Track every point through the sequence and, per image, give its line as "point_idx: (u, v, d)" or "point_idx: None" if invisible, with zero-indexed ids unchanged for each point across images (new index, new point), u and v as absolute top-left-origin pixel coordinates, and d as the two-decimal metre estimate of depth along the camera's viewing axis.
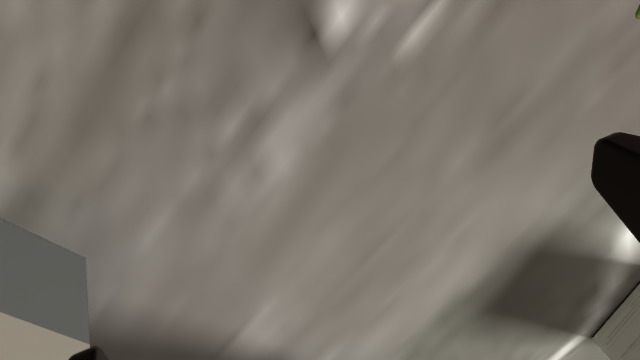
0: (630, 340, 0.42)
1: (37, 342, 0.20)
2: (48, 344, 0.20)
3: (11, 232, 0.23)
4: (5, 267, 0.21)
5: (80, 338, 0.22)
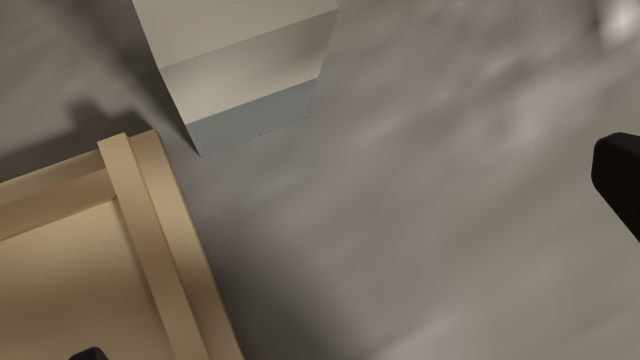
0: None
1: None
2: None
3: None
4: None
5: None
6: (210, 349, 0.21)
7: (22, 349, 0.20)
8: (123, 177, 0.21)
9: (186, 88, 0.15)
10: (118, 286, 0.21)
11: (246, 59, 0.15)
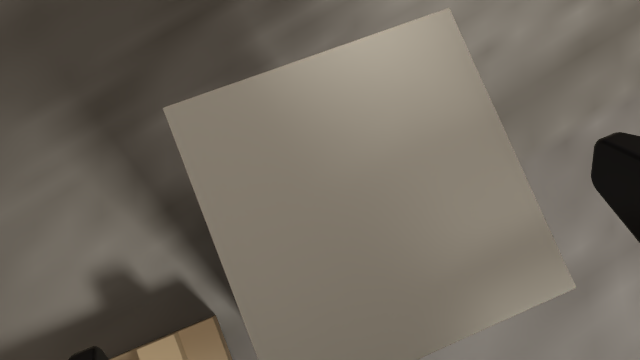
0: None
1: None
2: None
3: None
4: None
5: None
6: None
7: None
8: None
9: None
10: None
11: None
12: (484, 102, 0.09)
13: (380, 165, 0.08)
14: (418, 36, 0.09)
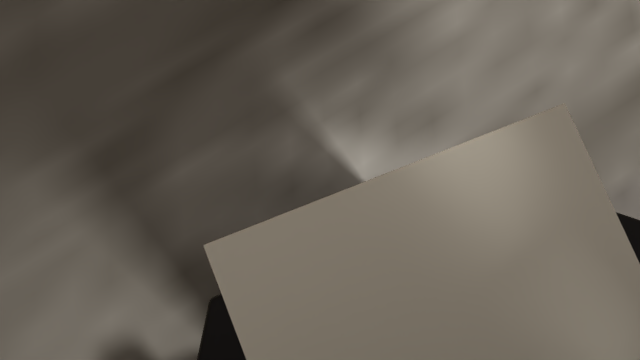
0: None
1: None
2: None
3: None
4: None
5: None
6: None
7: None
8: None
9: None
10: None
11: None
12: (613, 227, 0.07)
13: (485, 315, 0.06)
14: (526, 143, 0.07)
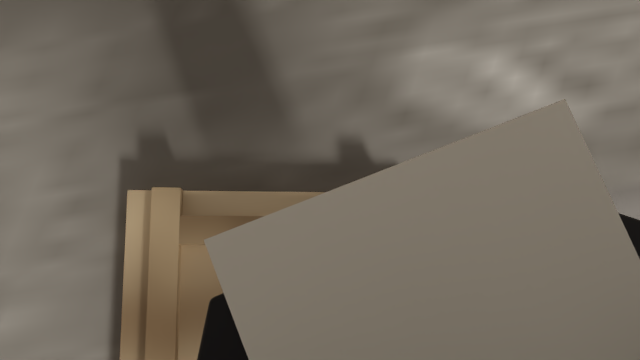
0: None
1: None
2: None
3: None
4: None
5: None
6: None
7: None
8: None
9: None
10: None
11: None
12: (613, 223, 0.07)
13: (484, 312, 0.06)
14: (527, 137, 0.07)
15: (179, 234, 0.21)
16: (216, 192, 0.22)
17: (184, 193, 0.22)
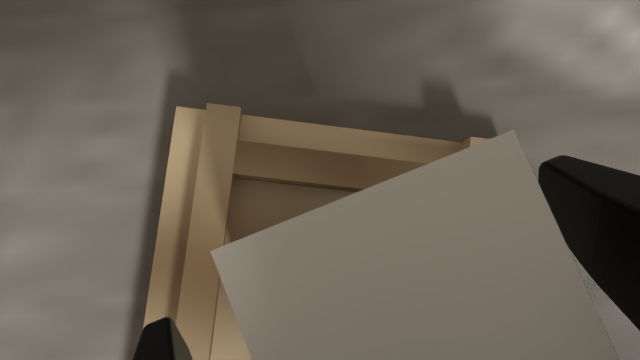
0: None
1: None
2: None
3: None
4: None
5: None
6: None
7: None
8: None
9: None
10: None
11: None
12: (553, 234, 0.08)
13: (444, 309, 0.08)
14: (482, 163, 0.08)
15: (234, 161, 0.17)
16: (280, 121, 0.18)
17: (242, 117, 0.18)
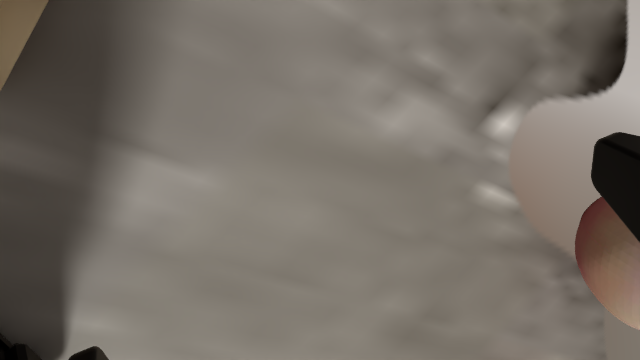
0: None
1: None
2: None
3: None
4: None
5: None
6: None
7: None
8: None
9: None
10: None
11: None
12: None
13: None
14: None
15: None
16: None
17: None
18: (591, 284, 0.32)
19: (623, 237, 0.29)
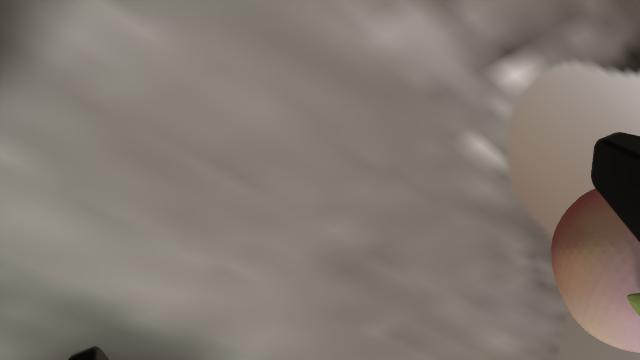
0: None
1: None
2: None
3: None
4: None
5: None
6: None
7: None
8: None
9: None
10: None
11: None
12: None
13: None
14: None
15: None
16: None
17: None
18: (556, 273, 0.29)
19: (603, 234, 0.26)
